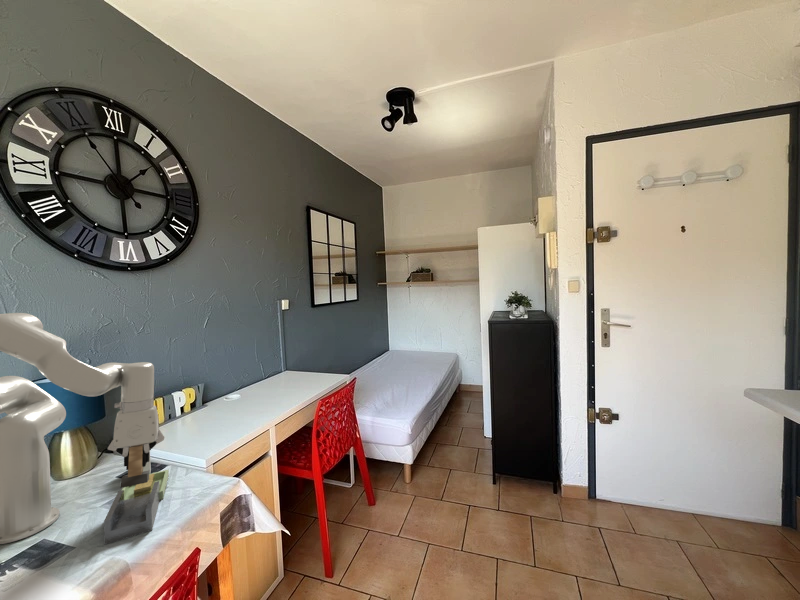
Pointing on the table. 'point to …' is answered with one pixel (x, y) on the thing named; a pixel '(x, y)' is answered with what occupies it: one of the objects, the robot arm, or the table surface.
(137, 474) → the t-shaped hammer
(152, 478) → the yellow cube
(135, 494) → the yellow wooden cube
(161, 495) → the chip tray
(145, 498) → the channel
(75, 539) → the table surface
